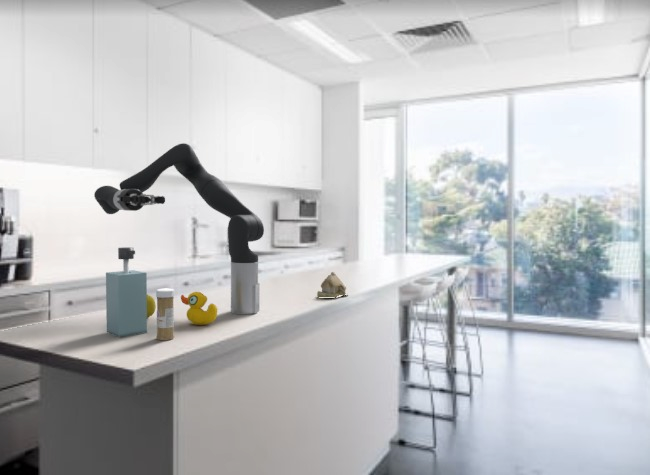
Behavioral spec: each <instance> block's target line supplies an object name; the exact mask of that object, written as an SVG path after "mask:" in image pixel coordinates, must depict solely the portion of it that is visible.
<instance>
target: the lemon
mask: <svg viewBox="0 0 650 475" xmlns="http://www.w3.org/2000/svg"><path fill="white" fill-rule="evenodd" d="M156 306H157V304H156V301H155V298H154V297H153V296H151V295H149V294H148V293H147V320H148V319H149V318H150V317H152V316H153V315H154V314H155V312H156V309H157V307H156Z"/></svg>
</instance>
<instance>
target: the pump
mask: <svg viewBox="0 0 650 475" xmlns="http://www.w3.org/2000/svg"><path fill="white" fill-rule="evenodd" d="M117 252H118V254H117V255H118V257H117V258H118V259H117V260H122V261H123V263H122V265H123V266H122V267H123V270H122V271H124V273H129V271H130V266H129V265H130V260H132V259H133V260H134V259H135V256H134V255H136V250H134V247H118V248H117Z"/></svg>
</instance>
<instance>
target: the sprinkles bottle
mask: <svg viewBox="0 0 650 475" xmlns="http://www.w3.org/2000/svg"><path fill="white" fill-rule="evenodd" d="M155 291H156V292H155V296H156V302H157V303H156V306H157V307H156V340H158V341H167V340H173V339H174V338H175V335H174V325H175V323H174V321H175V320H174V319H175V318H174V316H175V314H174V313H175V311H174V310H175V308H174V297H175V289H173V288H165V287H164V288H158V289H156V290H155Z"/></svg>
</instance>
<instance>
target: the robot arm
mask: <svg viewBox="0 0 650 475" xmlns="http://www.w3.org/2000/svg"><path fill="white" fill-rule="evenodd" d="M172 167H174V168H175V169H176V171H177V172H178V173H179V174H180V175H181V176H183V177H184V178H185V179H186V180H187V181H188V182H190V183H191V184H192V186H193V187H194V189H195V191H196V192H197V194H199V196H200V197H201V199H203V201H204V202H205V203H206V205H208V206H209V207H210V208H212V209H213V210H215V211H217V213H220V214H222V215H224V216H226V217H227V218H229V221H228V224H227V225H228V226H227V241H228V253H229V257H230V313H232V314H235V315H249V314H250V315H251V314H257V313H258V312H259V311H260V291H261V290H260V288H261V287H260V283H259V255H258V253H257V252H254V251H253V250H251V249H250V247H249V246H250V245H249V242H255V241H256V242H257V241H258V240H261V239H262V238H263V236H264V233H265V228H264V224H263V221H262V220H261V218H260V217H259V216H258V215H257V214H255V213H254V211H252V210H250V209H249V208H248V207H247V206H245V204H243V203H242V202H241V200H240V199H238V197H237V196H235V194H234V193H233V192H232V191H231V190H230V189H229V187H228V186H226V185H225V183H223V181H222V180H221V179H220V178H218V177H217V176H215V175H213V174H211V173H209V172H208V171H207V170H206V169H205V167H204V166H203V164H202V163H201V161H200V160H199V157H198V155H197V153H195V151H194V149H193V147H192V146H191V145H190V144H188V143H185V142H183V143H178V144H177V145H176V144H175V145H174V146H173V147H171V148H170V149H169V150H167V151H166V152H165V153H163V154H162V155H161V156H159V157H158V158H157V159H155V160H154V161H153V162H152V163H149V165H148V166H146V167H145V168H144V169H142V170H140V171H139V172H137V173H135V174H133V175H131V176H130V177H127V178H126V179H124V180H122V181H121V182H119V188H120V189H118V188H116V187H114V186H112V185H102V186H100V187H98V188H97V189H96V190H95V191H94V194H93V195H94V196H93V197H94V200H95V201H96V202H97V203H98V204H99V206H100V207H101V209H102V210H103V211H104V212H105V213H106V214H107V215H114V214H117V213H118V212H119V211H120V210H122V211H130V212H131V211H133V212H136V211H139V210H140V209H142V208H143V207H145V206H154V205H156V204H157V205H159V204H162V205H163V204H165V203H166V197H165V196H163V195H161V196H160V195H154V194H146V193H144V192H145V191H146V192H147V191H148V190H149V189H150V188H151V187H152V186H154V184H155V183H156V181H157V180H158V178H159V177H160V175H161V174H163V173H164V171H166V170H168V169H169V168H172Z"/></svg>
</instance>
